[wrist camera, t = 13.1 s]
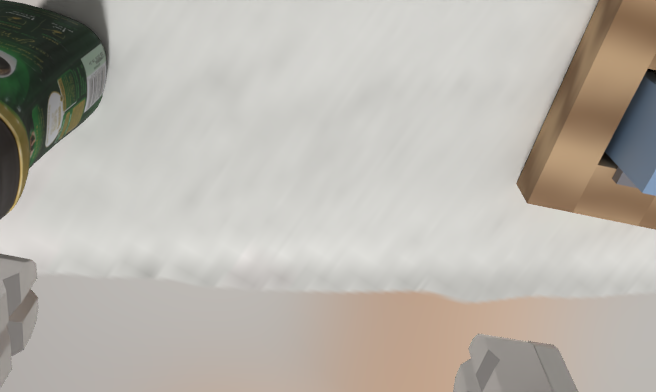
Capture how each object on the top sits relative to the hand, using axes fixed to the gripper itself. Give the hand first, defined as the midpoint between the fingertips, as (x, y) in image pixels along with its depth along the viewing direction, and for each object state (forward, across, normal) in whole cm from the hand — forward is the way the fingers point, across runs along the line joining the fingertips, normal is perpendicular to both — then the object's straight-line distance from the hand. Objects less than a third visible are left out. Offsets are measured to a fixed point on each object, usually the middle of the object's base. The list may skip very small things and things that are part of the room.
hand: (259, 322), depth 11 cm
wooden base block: (+33, -26, +4) cm, 43 cm away
